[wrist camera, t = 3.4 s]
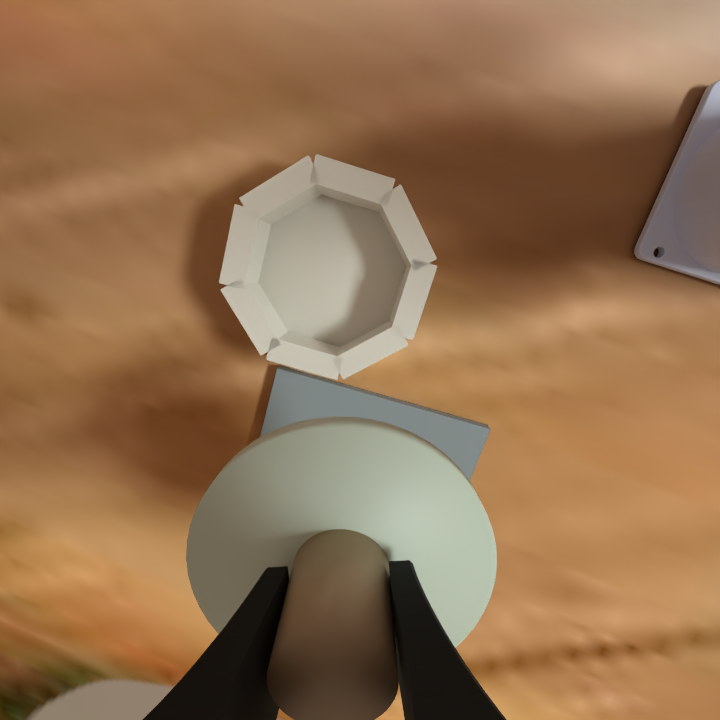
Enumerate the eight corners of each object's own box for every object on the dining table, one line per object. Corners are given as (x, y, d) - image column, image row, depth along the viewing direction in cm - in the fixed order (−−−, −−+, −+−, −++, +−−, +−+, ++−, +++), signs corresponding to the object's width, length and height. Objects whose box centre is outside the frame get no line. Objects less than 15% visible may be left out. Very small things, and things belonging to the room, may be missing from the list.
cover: (494, 409, 11) (563, 488, 7) (483, 659, 13) (532, 818, 10) (174, 423, 11) (75, 505, 7) (219, 666, 14) (163, 824, 10)
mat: (487, 424, 21) (490, 429, 20) (429, 569, 23) (431, 576, 23) (279, 365, 20) (277, 368, 20) (241, 518, 23) (237, 525, 22)
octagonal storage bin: (444, 211, 18) (459, 199, 16) (390, 378, 20) (394, 396, 18) (268, 155, 18) (248, 132, 15) (229, 332, 20) (206, 342, 17)
